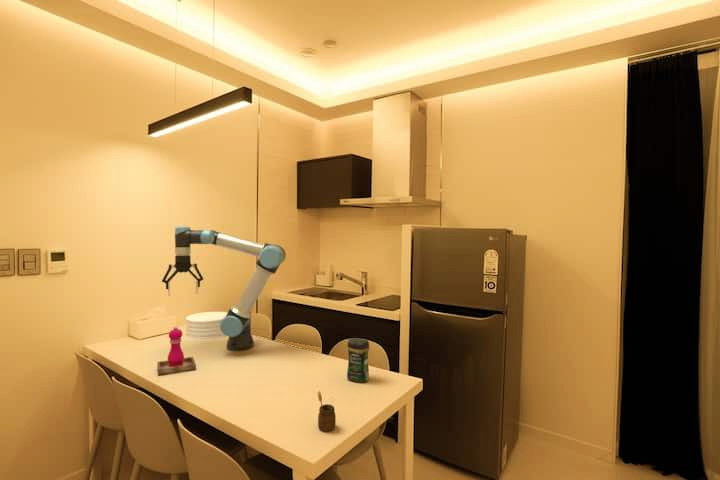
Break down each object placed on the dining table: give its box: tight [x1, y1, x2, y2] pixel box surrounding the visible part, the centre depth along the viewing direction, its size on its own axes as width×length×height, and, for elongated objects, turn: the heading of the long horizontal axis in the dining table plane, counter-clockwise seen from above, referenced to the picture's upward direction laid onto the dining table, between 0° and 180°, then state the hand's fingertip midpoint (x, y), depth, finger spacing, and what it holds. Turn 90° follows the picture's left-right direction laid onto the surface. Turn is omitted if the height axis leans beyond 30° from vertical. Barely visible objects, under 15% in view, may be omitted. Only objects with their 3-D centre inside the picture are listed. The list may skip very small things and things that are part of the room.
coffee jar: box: [346, 337, 370, 383], centre depth 175 cm, size 10×8×19 cm
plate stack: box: [185, 311, 228, 340], centre depth 252 cm, size 28×28×12 cm
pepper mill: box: [167, 325, 185, 367], centre depth 187 cm, size 7×7×20 cm
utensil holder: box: [317, 390, 337, 432], centre depth 132 cm, size 6×6×12 cm
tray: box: [157, 356, 197, 377], centre depth 187 cm, size 16×12×3 cm
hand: (183, 294), depth 208 cm, fingers open, 13 cm apart
